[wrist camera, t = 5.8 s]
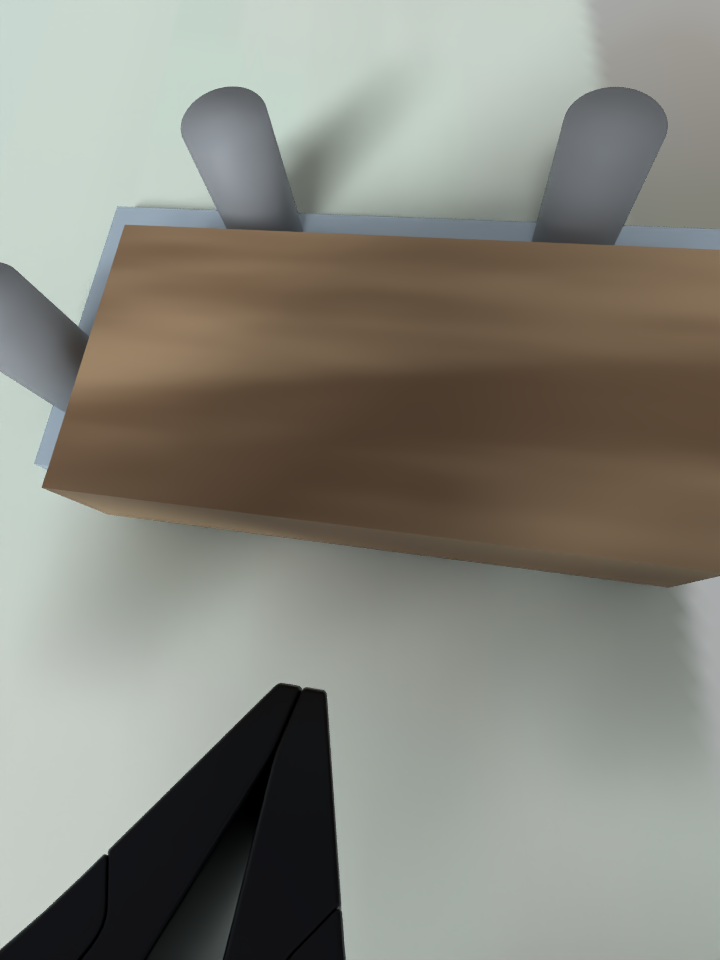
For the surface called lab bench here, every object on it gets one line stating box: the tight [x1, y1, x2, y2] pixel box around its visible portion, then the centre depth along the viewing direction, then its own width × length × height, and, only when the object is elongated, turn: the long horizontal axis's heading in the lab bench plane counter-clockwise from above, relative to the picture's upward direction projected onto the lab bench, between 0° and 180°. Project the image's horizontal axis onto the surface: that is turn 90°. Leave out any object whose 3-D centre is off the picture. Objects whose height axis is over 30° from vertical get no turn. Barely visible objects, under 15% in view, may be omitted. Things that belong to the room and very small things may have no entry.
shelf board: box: [42, 225, 720, 587], centre depth 15 cm, size 3×16×8 cm
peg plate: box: [0, 87, 720, 469], centre depth 15 cm, size 10×23×5 cm, turn 82°
